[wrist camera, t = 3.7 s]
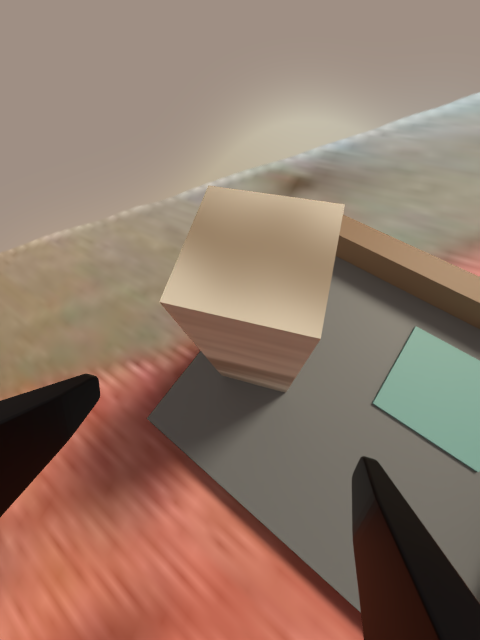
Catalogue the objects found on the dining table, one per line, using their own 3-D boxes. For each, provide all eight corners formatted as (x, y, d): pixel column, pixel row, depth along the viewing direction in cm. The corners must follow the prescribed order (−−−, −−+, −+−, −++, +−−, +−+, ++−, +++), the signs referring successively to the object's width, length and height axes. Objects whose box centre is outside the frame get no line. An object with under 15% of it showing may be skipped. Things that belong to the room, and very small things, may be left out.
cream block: (285, 392, 19) (320, 338, 7) (221, 375, 20) (159, 301, 8) (298, 330, 21) (344, 204, 9) (238, 316, 22) (208, 185, 10)
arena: (478, 713, 14) (545, 801, 10) (152, 418, 21) (131, 417, 17) (590, 369, 19) (656, 357, 16) (303, 227, 26) (308, 199, 23)
